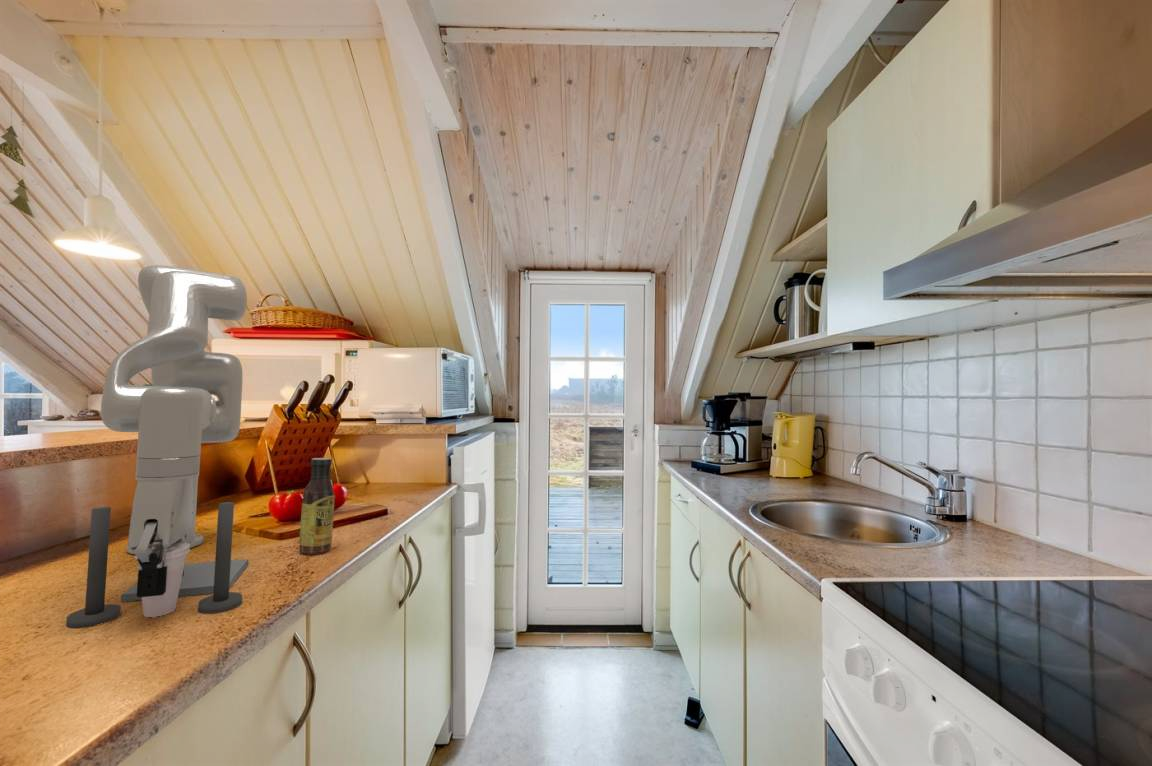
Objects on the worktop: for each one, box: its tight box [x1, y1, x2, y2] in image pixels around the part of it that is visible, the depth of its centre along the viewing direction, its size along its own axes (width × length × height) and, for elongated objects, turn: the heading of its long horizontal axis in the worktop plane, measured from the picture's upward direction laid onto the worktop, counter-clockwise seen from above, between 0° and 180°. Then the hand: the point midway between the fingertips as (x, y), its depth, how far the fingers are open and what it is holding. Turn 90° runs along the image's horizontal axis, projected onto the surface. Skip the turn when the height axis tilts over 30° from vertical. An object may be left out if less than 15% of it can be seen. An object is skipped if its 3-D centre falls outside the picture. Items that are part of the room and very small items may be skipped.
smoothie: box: [134, 542, 191, 618], centre depth 74 cm, size 6×6×14 cm
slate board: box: [120, 558, 250, 603], centre depth 86 cm, size 14×14×1 cm
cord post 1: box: [65, 506, 122, 629], centre depth 71 cm, size 6×6×16 cm
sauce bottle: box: [298, 457, 336, 555], centre depth 105 cm, size 6×6×20 cm
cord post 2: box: [197, 501, 243, 614], centre depth 77 cm, size 6×6×16 cm
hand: (161, 585), depth 74 cm, fingers closed on smoothie, 6 cm apart
